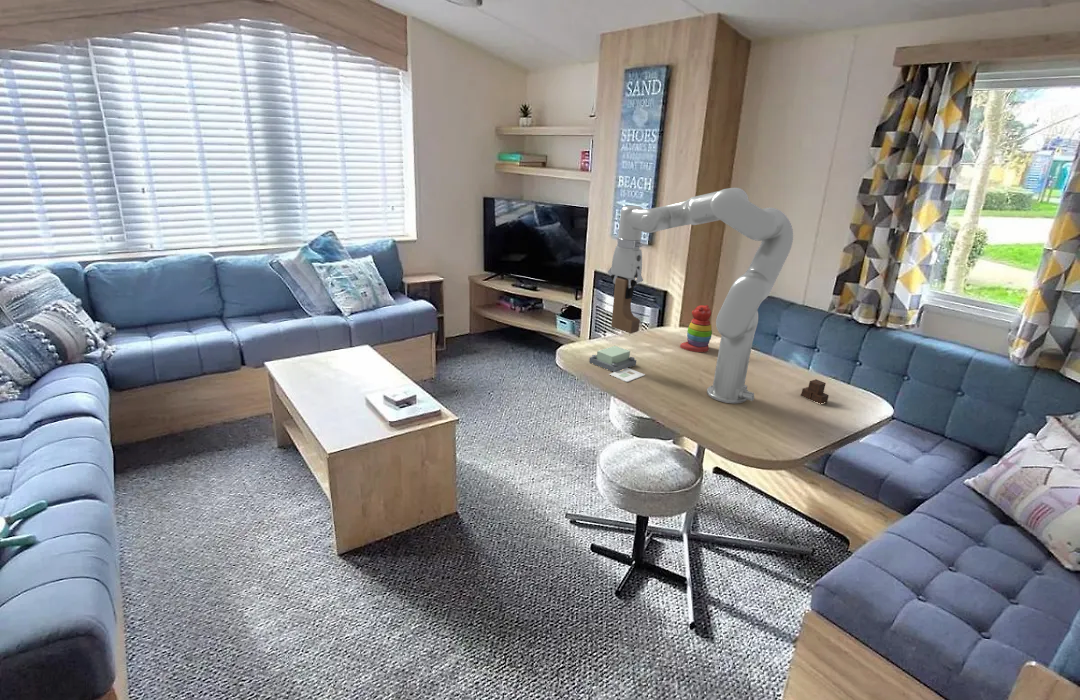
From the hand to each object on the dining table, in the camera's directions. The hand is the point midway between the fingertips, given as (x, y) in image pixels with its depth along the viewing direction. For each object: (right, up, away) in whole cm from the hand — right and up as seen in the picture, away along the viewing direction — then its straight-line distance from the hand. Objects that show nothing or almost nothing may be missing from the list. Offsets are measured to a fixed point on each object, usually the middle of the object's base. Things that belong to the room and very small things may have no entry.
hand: (622, 296), depth 196 cm
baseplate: (-2, -24, +10) cm, 26 cm away
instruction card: (+2, -27, +1) cm, 28 cm away
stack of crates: (+62, -35, -10) cm, 72 cm away
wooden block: (+1, -12, +3) cm, 12 cm away
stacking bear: (+34, -18, +31) cm, 49 cm away
